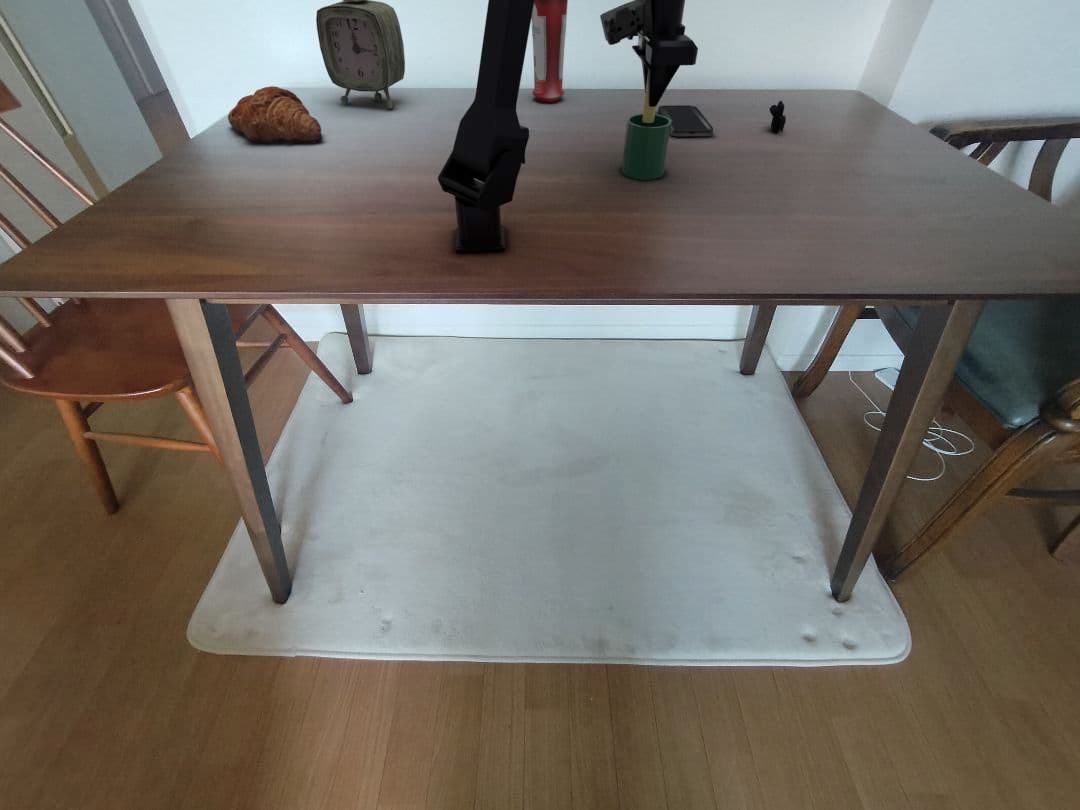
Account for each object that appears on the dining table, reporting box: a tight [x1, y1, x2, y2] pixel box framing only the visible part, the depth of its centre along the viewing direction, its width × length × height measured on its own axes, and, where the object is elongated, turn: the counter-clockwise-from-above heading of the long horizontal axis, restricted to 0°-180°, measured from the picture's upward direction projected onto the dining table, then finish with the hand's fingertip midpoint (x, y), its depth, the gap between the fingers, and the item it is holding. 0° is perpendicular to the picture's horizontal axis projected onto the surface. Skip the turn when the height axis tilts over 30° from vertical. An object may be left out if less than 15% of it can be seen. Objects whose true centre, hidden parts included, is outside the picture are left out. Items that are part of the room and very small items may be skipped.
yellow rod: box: [642, 77, 657, 123], centre depth 87 cm, size 2×2×9 cm
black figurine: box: [769, 100, 787, 133], centre depth 109 cm, size 7×2×5 cm, turn 175°
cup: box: [621, 113, 671, 181], centre depth 93 cm, size 7×7×8 cm
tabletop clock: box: [315, 0, 406, 110], centre depth 114 cm, size 14×9×25 cm, turn 73°
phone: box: [657, 104, 714, 138], centre depth 112 cm, size 8×1×15 cm
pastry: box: [227, 85, 323, 144], centre depth 105 cm, size 17×15×8 cm
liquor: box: [531, 0, 569, 104], centre depth 115 cm, size 7×7×28 cm
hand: (650, 104), depth 88 cm, fingers closed on yellow rod, 2 cm apart
